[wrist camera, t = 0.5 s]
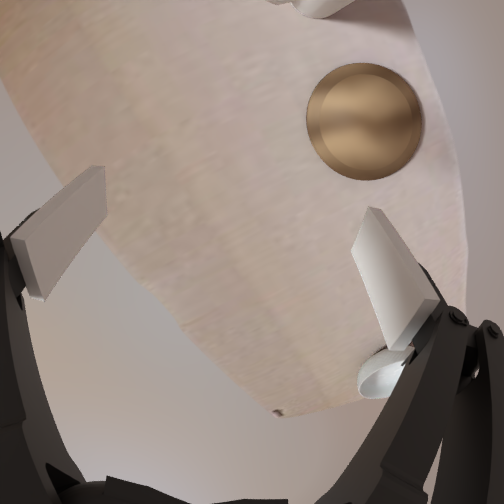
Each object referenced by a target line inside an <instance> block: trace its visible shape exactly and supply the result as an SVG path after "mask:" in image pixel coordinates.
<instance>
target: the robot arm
mask: <svg viewBox="0 0 504 504" xmlns="http://www.w3.org/2000/svg"><path fill="white" fill-rule="evenodd" d="M107 215H108V213H107V199H106V181H105V166H91V167H89V168H88V169H87V170H85V171H84V172H83V173H82V174H80V175H79V176H78V177H76V178H75V179H74V180H73V181H71V182H70V183H69V184H68V185H67V186H65V187H64V188H63V189H62V190H61V191H59V192H58V193H57V194H56V195H55V196H53V197H52V198H51V199H50V200H49V201H48V202H47V203H45V204H44V205H43V206H42V207H41V208H39V209H38V210H36V211H34V212H32V213H31V214H30V215H28V216H27V217H26V218H25V219H24V221H22V222H21V223H20V224H19V226H17V227H16V228H15V229H14V230H13V231H12V232H11V233H10V234H9V235H8V236H7V237H6V238H5V239H4V240H3V239H2V236H1V232H0V504H190V503H187V502H185V501H182V500H179V499H177V498H174V497H172V496H169V495H167V494H164V493H162V492H160V491H158V490H155V489H153V488H151V487H149V486H144V485H140V484H136V483H132V482H128V481H124V480H120V479H117V478H114V477H110V476H107V477H106V481H92V482H86V481H85V479H84V477H83V475H82V473H81V472H80V470H79V468H78V467H77V465H76V464H75V463H74V461H73V460H72V459H71V457H70V456H69V454H68V452H67V451H66V448H65V446H64V443H63V441H62V439H61V436H60V434H59V431H58V429H57V426H56V424H55V421H54V418H53V415H52V413H51V410H50V407H49V404H48V401H47V398H46V395H45V392H44V389H43V385H42V382H41V379H40V375H39V371H38V367H37V364H36V360H35V356H34V351H33V347H32V343H31V338H30V333H29V328H28V322H27V316H26V310H25V304H24V298H23V296H22V293H21V292H22V291H23V289H24V288H25V286H26V288H27V290H28V293H29V296H30V297H31V298H34V299H37V300H41V301H44V302H45V300H46V299H47V297H48V296H49V294H50V293H51V291H52V289H53V288H54V287H55V285H56V284H57V282H58V280H59V279H60V278H61V276H62V275H63V273H64V272H65V270H66V269H67V268H68V266H69V265H70V263H71V262H72V261H73V259H74V258H75V256H76V255H77V254H78V252H79V251H80V250H81V248H82V247H83V246H84V244H85V243H86V242H87V240H88V239H89V238H90V236H91V235H92V234H93V233H94V231H95V230H96V229H97V228H98V226H99V225H100V224H101V223H102V221H103V220H104V219H105V218H106V217H107ZM351 253H352V255H353V258H354V260H355V262H356V265H357V267H358V270H359V272H360V274H361V277H362V279H363V282H364V284H365V287H366V289H367V292H368V295H369V297H370V300H371V302H372V305H373V308H374V310H375V313H376V316H377V318H378V321H379V324H380V327H381V330H382V332H383V335H384V338H385V341H386V344H387V347H388V350H389V351H404V350H405V349H406V347H407V346H408V345H409V344H410V342H411V341H412V342H413V344H414V347H415V348H414V350H413V351H412V352H411V353H410V355H409V356H408V357H407V358H406V359H405V361H404V362H403V363H402V364H401V366H404V365H405V366H404V368H403V371H402V373H401V375H400V377H399V379H398V381H397V383H396V385H395V387H394V389H393V391H392V393H391V395H390V397H389V399H388V401H387V403H386V404H385V406H384V408H383V410H382V412H381V413H380V415H379V417H378V419H377V420H376V422H375V424H374V426H373V427H372V429H371V431H370V432H369V434H368V436H367V437H366V439H365V440H364V442H363V444H362V445H361V447H360V448H359V450H358V452H357V453H356V455H355V456H354V457H353V459H352V460H351V462H350V463H349V465H348V466H347V468H346V469H345V470H344V472H343V473H342V475H341V476H340V478H339V479H338V480H337V482H336V483H335V484H334V486H333V487H332V488H331V489H330V490H329V491H328V492H327V493H325V495H323V496H322V497H321V498H320V499H319V500H317V501H316V503H315V504H427V501H428V494H427V493H425V492H424V491H423V485H424V482H425V480H426V478H427V475H428V473H429V471H430V468H431V466H432V464H433V462H434V459H435V457H436V454H437V451H438V449H439V446H440V443H441V441H442V447H441V455H440V461H439V467H438V472H437V477H436V483H435V487H434V492H433V496H432V500H431V504H504V336H503V334H502V331H501V330H500V328H499V327H498V325H497V324H496V323H493V322H492V321H490V320H484V321H483V323H482V324H481V325H480V326H479V328H477V327H474V326H471V325H469V321H468V319H467V317H466V316H465V315H464V313H463V312H461V311H460V310H459V309H457V308H455V307H453V306H448V305H447V303H446V302H445V300H444V298H443V296H442V295H441V293H440V291H439V290H438V288H437V287H436V285H435V283H434V281H433V280H432V278H431V277H430V275H429V273H428V272H427V270H426V269H425V268H424V267H423V266H421V265H420V264H419V263H418V262H417V261H416V259H415V258H414V256H413V254H412V253H411V251H410V250H409V248H408V247H407V245H406V244H405V242H404V241H403V239H402V238H401V237H400V235H399V234H398V232H397V231H396V229H395V228H394V226H393V225H392V224H391V222H390V221H389V219H388V218H387V217H386V215H385V214H384V213H383V211H382V210H381V209H377V208H373V207H369V206H368V209H367V211H366V214H365V217H364V219H363V222H362V224H361V227H360V230H359V232H358V235H357V237H356V240H355V242H354V245H353V247H352V250H351ZM478 369H479V372H478V375H477V377H476V378H475V372H476V371H477V370H478ZM442 438H443V440H442ZM214 504H288V499H267V500H265V499H241V500H235V501H229V502H222V503H214Z"/></svg>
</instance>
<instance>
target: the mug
mask: <svg viewBox="0 0 504 504" xmlns="http://www.w3.org/2000/svg"><path fill="white" fill-rule="evenodd" d="M266 1H268V2H270V3H273V4H275V5H280V4H284V3H289V2H290V3H291V5H292V6H293V8H294V9H295V10H296V11H298V12H299V13H300V14H302V15H304V16H307V17H310V18H325V17H328V16H330V15H332V14H334V13H335V12H337V11H339V10H340V9H342V8H343V7H345V6H347V5H348V4H350V3H352V2H353V1H355V0H266Z"/></svg>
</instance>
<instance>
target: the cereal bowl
mask: <svg viewBox="0 0 504 504" xmlns="http://www.w3.org/2000/svg"><path fill="white" fill-rule="evenodd" d="M414 348H415V347H412V346H407V347H406V349H405V350H404V351H389V350H388V348H386V349H383V350H381V351H380V352H378V353H376V354H375V355H373V356H372V357H370V358H369V359H368V360H367V361H366V362H365V363H364V364H363V365H362V367H361V369H360V371H359V373H358V377H357V386H358V391H359V393H360V395H362V396H363V397H365V398H369V399H380V398H386V397H390V395H391V393H392V391H393V389H394V387H395V385H396V383H397V381H398V379H399V377H400V375H401V373H402V371H403V368H404V366H405V365H404V366H401V364H402V363H403V362H404V361H405V359H406V358H407V357H408V356H409V355H410V353H411V352H412V351H413V350H414Z"/></svg>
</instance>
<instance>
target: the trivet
mask: <svg viewBox="0 0 504 504" xmlns="http://www.w3.org/2000/svg"><path fill="white" fill-rule="evenodd" d="M306 122H307V130H308V134H309V138H310V141H311V143H312V145H313V147H314V149H315V150H316V152H317V154H318V155H319V156H320V158H321V159H322V160H323V161H324V162H325V163H326V164H327V165H328V166H329V167H330V168H331V169H333V170H334V171H336V172H337V173H339V174H341V175H343V176H346V177H348V178H352V179H356V180H376V179H380V178H384V177H386V176H389V175H391V174H393V173H394V172H396V171H397V170H399V169H400V168H401V167H402V166H404V165H405V164H406V163H407V161H408V160H409V159H410V158H411V156H412V155H413V153H414V151H415V149H416V147H417V145H418V142H419V139H420V134H421V125H422V123H421V113H420V108H419V105H418V102H417V99H416V97H415V95H414V93H413V92H412V90H411V89H410V87H409V86H408V85H407V83H406V82H405V81H404V80H403V79H402V78H401V77H399V76H398V75H397V74H395V73H394V72H392V71H391V70H389V69H387V68H384V67H382V66H379V65H375V64H370V63H354V64H348V65H345V66H342V67H339V68H337V69H335V70H333V71H332V72H330V73H329V74H327V75H326V76H325V77H324V78H323V79H322V80H321V81H320V82H319V83H318V85H317V86H316V87H315V89H314V91H313V93H312V95H311V97H310V100H309V103H308V107H307V115H306Z"/></svg>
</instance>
